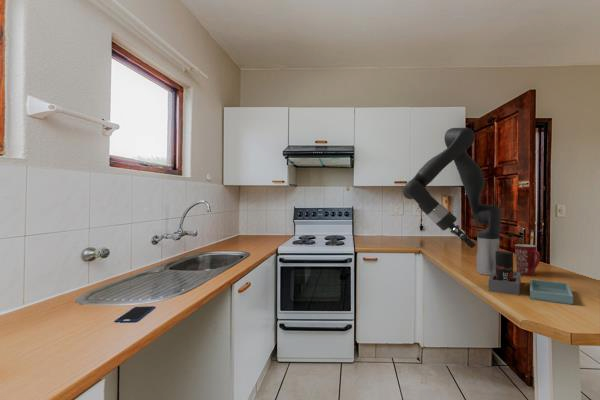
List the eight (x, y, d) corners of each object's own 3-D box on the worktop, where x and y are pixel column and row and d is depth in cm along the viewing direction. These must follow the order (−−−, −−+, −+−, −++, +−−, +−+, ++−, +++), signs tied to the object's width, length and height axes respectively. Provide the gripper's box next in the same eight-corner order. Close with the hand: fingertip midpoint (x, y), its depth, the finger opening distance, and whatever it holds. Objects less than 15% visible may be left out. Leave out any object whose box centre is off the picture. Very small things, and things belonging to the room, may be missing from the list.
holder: (519, 295, 122) (519, 283, 122) (488, 290, 128) (488, 279, 128) (520, 282, 139) (520, 272, 139) (493, 279, 145) (493, 269, 145)
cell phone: (113, 324, 98) (112, 321, 98) (135, 308, 112) (135, 306, 112) (137, 323, 98) (137, 321, 98) (156, 308, 112) (156, 305, 112)
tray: (573, 305, 110) (573, 296, 110) (530, 299, 117) (529, 290, 117) (567, 291, 126) (567, 283, 126) (530, 286, 133) (530, 279, 133)
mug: (510, 271, 161) (509, 244, 161) (527, 270, 162) (527, 243, 162) (528, 277, 149) (528, 248, 149) (548, 277, 149) (547, 247, 149)
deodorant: (508, 288, 132) (508, 251, 132) (516, 292, 126) (516, 253, 126) (492, 287, 132) (492, 251, 132) (500, 292, 126) (500, 253, 126)
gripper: (449, 211, 129) (482, 241, 125) (447, 210, 143) (476, 236, 139) (435, 224, 131) (467, 254, 127) (434, 221, 144) (463, 248, 140)
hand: (472, 245), depth 133 cm, fingers open, 8 cm apart
